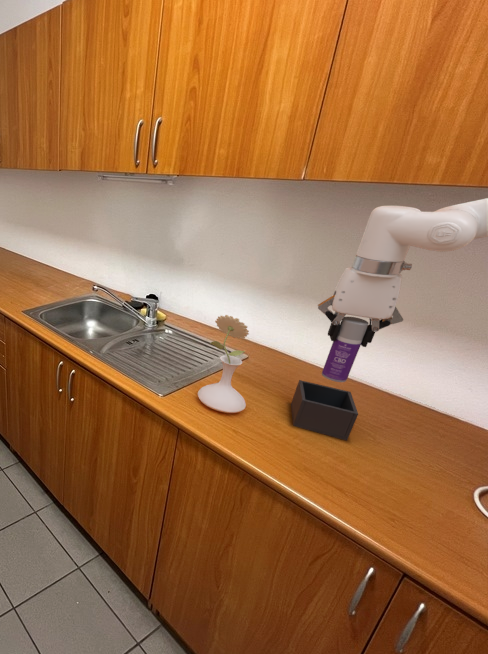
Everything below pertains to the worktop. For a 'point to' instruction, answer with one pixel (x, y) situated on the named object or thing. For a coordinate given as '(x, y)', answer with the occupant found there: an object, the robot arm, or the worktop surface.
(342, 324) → the container
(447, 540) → the worktop surface
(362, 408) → the worktop surface
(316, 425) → the bin
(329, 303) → the robot arm
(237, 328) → the flower in vase
